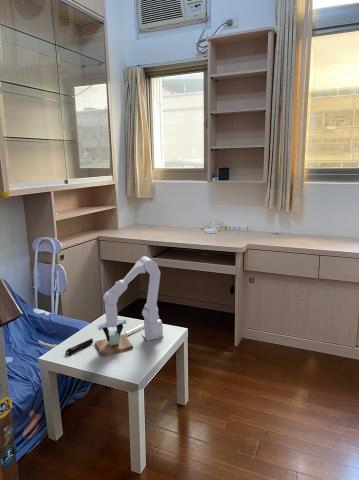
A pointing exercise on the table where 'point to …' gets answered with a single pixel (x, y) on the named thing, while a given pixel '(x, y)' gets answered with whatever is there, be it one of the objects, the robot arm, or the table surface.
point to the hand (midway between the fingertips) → (113, 339)
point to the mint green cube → (114, 338)
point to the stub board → (113, 346)
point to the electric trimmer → (78, 347)
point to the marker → (134, 330)
